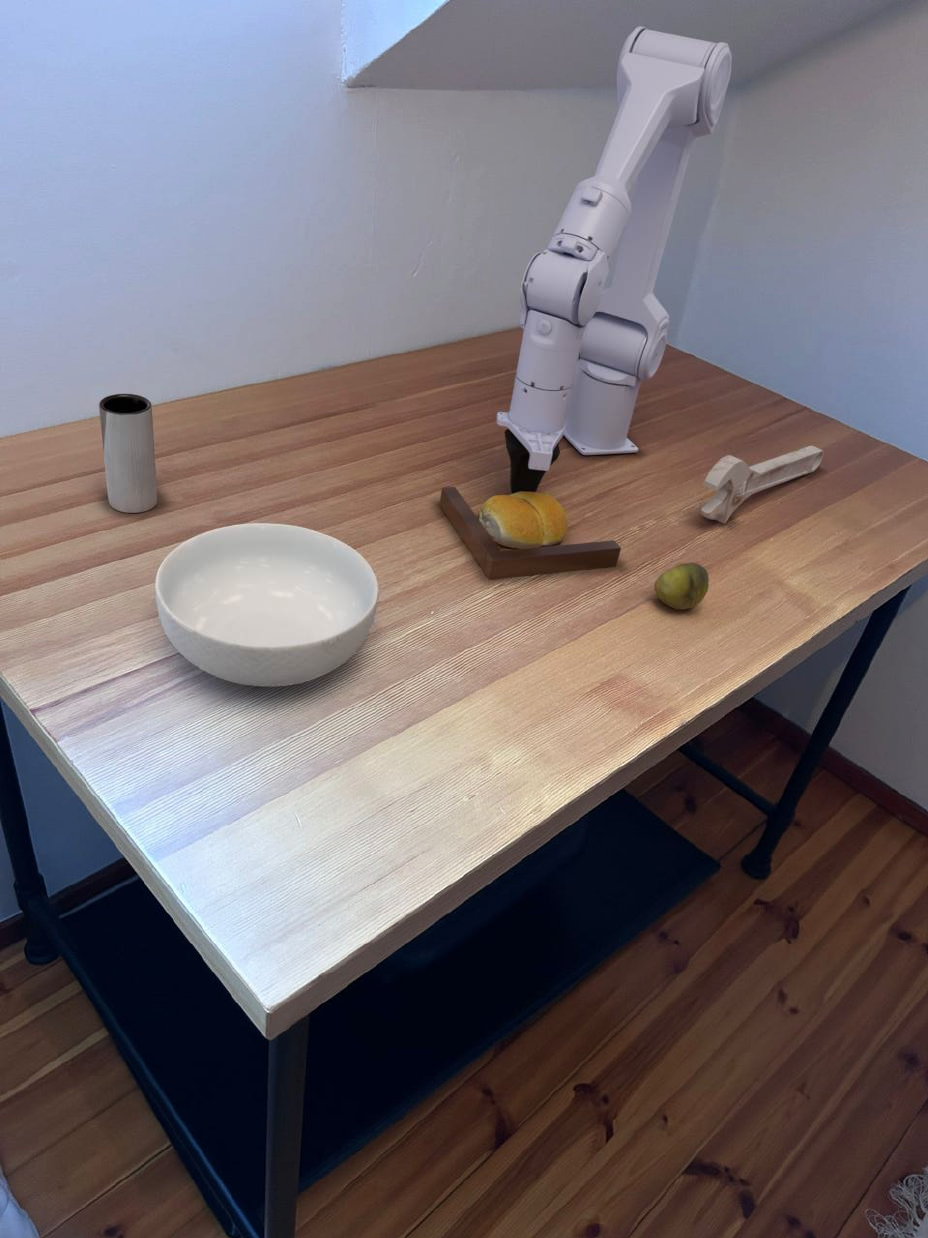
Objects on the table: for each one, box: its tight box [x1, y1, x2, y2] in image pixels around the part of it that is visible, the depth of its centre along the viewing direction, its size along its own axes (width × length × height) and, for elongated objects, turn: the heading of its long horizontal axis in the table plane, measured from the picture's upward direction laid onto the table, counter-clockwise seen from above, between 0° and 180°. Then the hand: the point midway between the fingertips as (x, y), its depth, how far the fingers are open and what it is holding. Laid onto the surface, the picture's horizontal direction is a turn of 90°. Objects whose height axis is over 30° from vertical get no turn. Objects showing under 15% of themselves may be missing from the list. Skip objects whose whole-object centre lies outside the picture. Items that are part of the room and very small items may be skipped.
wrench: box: [700, 445, 825, 525], centre depth 110 cm, size 8×2×30 cm
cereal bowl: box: [154, 522, 380, 688], centre depth 75 cm, size 17×17×7 cm
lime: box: [654, 562, 710, 610], centre depth 89 cm, size 4×5×5 cm
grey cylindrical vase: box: [98, 393, 158, 514], centre depth 89 cm, size 4×4×10 cm
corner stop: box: [439, 486, 622, 580], centre depth 97 cm, size 14×14×2 cm
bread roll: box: [478, 491, 569, 549], centre depth 97 cm, size 8×9×4 cm
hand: (520, 499), depth 101 cm, fingers closed
